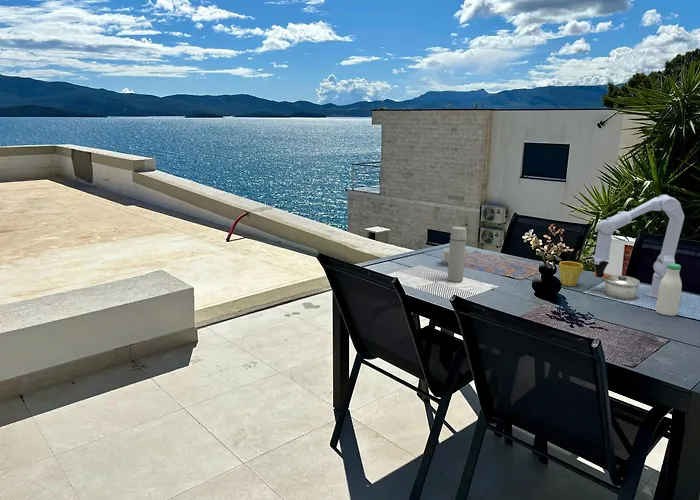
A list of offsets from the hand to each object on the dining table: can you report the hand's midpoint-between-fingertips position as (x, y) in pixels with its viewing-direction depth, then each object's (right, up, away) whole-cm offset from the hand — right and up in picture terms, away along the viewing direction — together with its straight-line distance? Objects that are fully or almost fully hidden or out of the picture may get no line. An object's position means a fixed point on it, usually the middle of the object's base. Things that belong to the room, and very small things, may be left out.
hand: (599, 277), depth 243 cm
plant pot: (-9, -4, +11) cm, 15 cm away
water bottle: (-61, -2, +13) cm, 62 cm away
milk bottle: (+16, -13, -25) cm, 32 cm away
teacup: (-58, +4, +39) cm, 70 cm away
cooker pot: (+7, -7, -1) cm, 10 cm away
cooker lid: (+6, -1, -3) cm, 7 cm away
